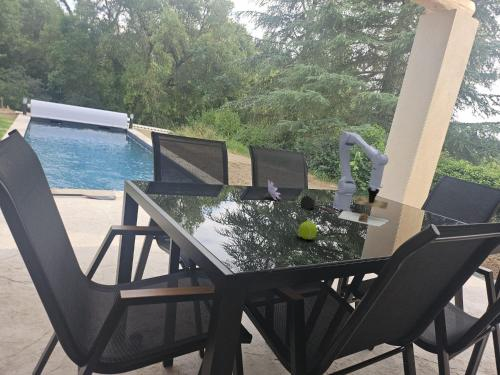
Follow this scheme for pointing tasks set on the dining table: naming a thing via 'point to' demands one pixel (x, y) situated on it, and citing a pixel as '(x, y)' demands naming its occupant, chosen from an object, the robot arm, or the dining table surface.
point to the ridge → (363, 217)
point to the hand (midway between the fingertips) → (371, 202)
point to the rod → (375, 204)
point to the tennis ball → (307, 230)
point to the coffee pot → (311, 204)
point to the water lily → (272, 191)
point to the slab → (355, 217)
